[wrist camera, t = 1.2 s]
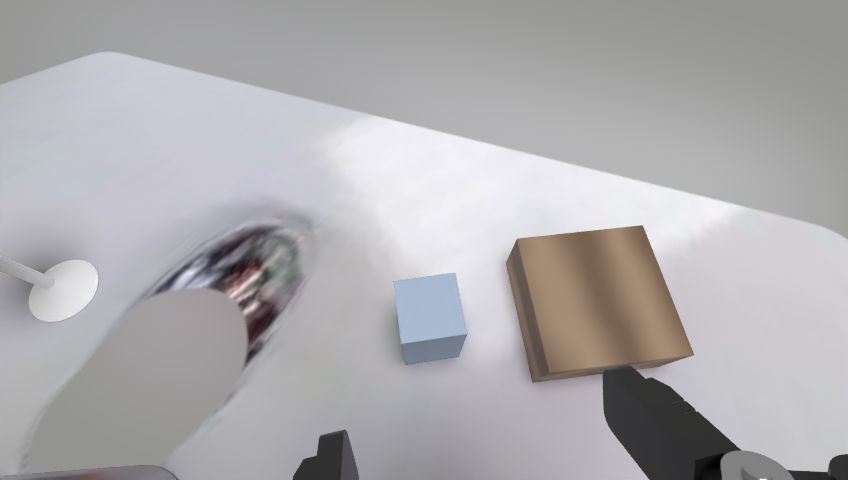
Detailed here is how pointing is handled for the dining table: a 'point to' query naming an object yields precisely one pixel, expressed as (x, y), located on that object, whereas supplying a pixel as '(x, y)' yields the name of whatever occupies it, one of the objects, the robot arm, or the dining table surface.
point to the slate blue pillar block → (430, 318)
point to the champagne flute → (56, 287)
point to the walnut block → (593, 304)
